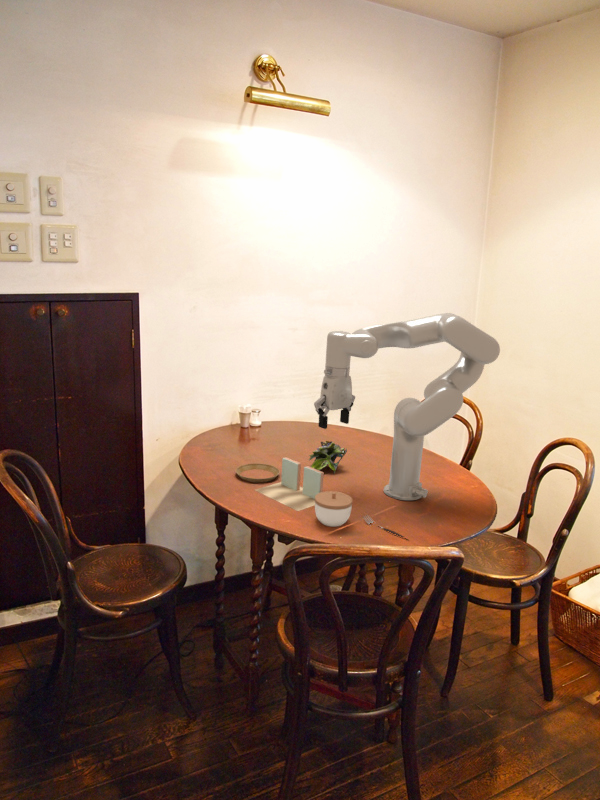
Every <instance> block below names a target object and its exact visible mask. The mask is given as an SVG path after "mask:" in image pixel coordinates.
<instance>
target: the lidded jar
mask: <svg viewBox="0 0 600 800" xmlns="http://www.w3.org/2000/svg"><path fill="white" fill-rule="evenodd" d="M353 502H354V501H353V497H352V496H350V495H349V494H347V493H344V492H341V491H334V490H333V491H331V490H329V491H328V490H326V491H323V492H321V493H318V494H317V495H316V496H315V505H314V511H315V512H314V513H315V517H316V518H317V520H318V521H319V522H320V523H321V524H322V525H324V526H326V527H331V528H332V527H333V528H334V527H335V528H336V527H340V526H343V525H345V524H346V523H347V521H349V518H350V516H351V513H352V506H353Z"/></svg>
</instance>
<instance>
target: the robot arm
mask: <svg viewBox="0 0 600 800" xmlns="http://www.w3.org/2000/svg"><path fill="white" fill-rule="evenodd" d="M443 342H444V343H447V344H449V345H450V346H452V347H453V348H454V349H456V350H458V352H460V355H459V357H458V360H457V361H456V362H455V363H454V364H453V366H451V367H450V368H448V369H447V370H446V371H445V372H443V373H441V375H439V376H438V377H436V378H435V379H434V380H432V381H430V382H429V383H428V384H427V385H425V388H424V390H423V396H424V400H422V401H420V400H419V399H417V398H415V397H414V398H413V397H405V398H402V399H401V400H400V401H399V402H397V404H396V406H395V409H394V412H393V439H392V441H393V442H392V447H391V448H392V450H391V451H392V452H391V459H390V460H391V461H390V470H389V471H390V472H389V480H388V483H387V484H386V485H384V486H383V492H384V494H385V495H387V497H390V498H392V499H396V500H399V501H416V500H420V499H421V498H424V499H425V498H426V497H427V496H428V493H429V490H428V489H427V488H423V483H422V482H421V481H420V478H421V470H422V460H423V449H424V441H425V440H424V439H425V438H424V437H425V436H427V435H428V434H431V433H432V432H434V431H435V430H436V429H438V428H439V427H441V426H442V425H444V424H445V423H446V422H447V421H449V420H450V419H451V418H453V417H454V416H456V415H457V414H458V413H459V411H460V410H461V408H462V407H463V404H464V395H463V394H464V393H465V392H466V391H468V390H469V389H470V388H471V387H473V386H474V385H475V384H476V383H477V382H478V380H479V379H480V378H481V375H482V374H483V371H484V369H485V368H484V367H485V365H489V364H492V363H494V362H495V361H496V360H497V359H498V357H499V356H500V352H501V346H500V343H499V342H498V341H497V339H496V338H495V337H493V336H492V335H490V334H488V333H486V332H485V331H483V330H482V329H480V328H478V327H477V326H476V325H474V324H472V323H471V322H470V321H469V320H467V319H465V318H463V317H461V316H459V315H456V314H454V313H451V312H445V313H440V314H434V315H433V314H432V315H430V316H425V317H421V318H416V319H414V318H413V319H410V320H406V321H397V322H392V323H383V324H378V325H373V326H367V327H364V328H359V329H356V330H354V331H353V332H352V333H350V332H347V331H343V330H334V331H333V330H331V331H330V332H329V333H328V334H327V336H326V348H325V349H326V350H325V368H324V370H323V373H324V376H323V379H322V384H321V389H320V397H319V398H318V399H317V400H316V401H315V402H314V403H313V405H314V409H315V411H316V413H317V415H318V427H319V428H321V429H324V430H327V428H328V419H329V418H328V413H329V412H330V411H335V410H336V411H338V410H340V419H339V422H340V423H341V424H346V425H349V421H350V412H351V411H352V407H353V406H354V402H355V400H356V396H355V395H354V394H353V385H352V377H351V375H350V371H351V370H350V369H351V360H352V359H351V357H355V358H360V359H369V358H372V357H374V356H375V355H376V354H377V353H378V350H379V349H383V348H385V349H386V348H400V349H417V348H419V347H420V348H421V347H425V346H429V345H435V344H439V343H443Z"/></svg>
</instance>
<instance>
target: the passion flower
mask: <svg viewBox="0 0 600 800" xmlns="http://www.w3.org/2000/svg"><path fill="white" fill-rule="evenodd" d="M347 452H348V450H347V448H345V447H341V445H339V444H337V443H335V442H333V441H332V440H331V441H329V440H325V441H320V446H318V447H316V449H314V450H313V451H312V454H309V456H308V457H309V459H308V460H309V461H311V460H312V459H314V460H313V462H312V464H311V465H310V466H309V467H312V468H314V469H316V470H319V471H321V470H323V469H324V468H325V467H327V466H328V467H329V468H330V469H331V470H332V471H333V474H335V473H336V471H337V467H338V466H339V465H340V464H339V463H340V461H342V459H343V458H344V456H345V455H346V453H347ZM337 458H340V459H339V460H338V461H336V459H337ZM335 461H336V462H335Z"/></svg>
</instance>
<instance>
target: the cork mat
mask: <svg viewBox="0 0 600 800" xmlns="http://www.w3.org/2000/svg"><path fill="white" fill-rule="evenodd" d="M254 491H255V492H257V493H259V494H261V495H264V496H265V497H267V498H269V499H271V500H274V501H276V502H278V503H280V504H281V505H284V506H285V507H288V508H290V509H292V510H294V511H296V512H301V511H302V510H305V509H309V508H311V507H315V499H313V498H310V497H308V496H306V495H304V494H303V486H301V485H300V490H297V491H295V490H293V489H291V488H288V487H286V486H284V485H282V484H281V481H280V482H276V483H273V484H270V485H269V484H268V485H266V486H263V487H260V488H256V489H254Z"/></svg>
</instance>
